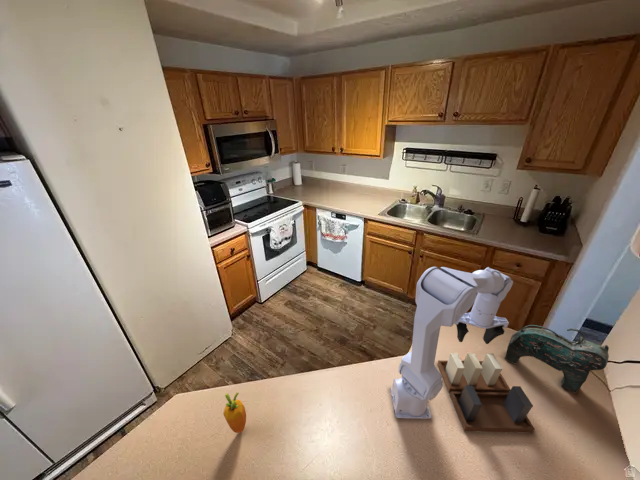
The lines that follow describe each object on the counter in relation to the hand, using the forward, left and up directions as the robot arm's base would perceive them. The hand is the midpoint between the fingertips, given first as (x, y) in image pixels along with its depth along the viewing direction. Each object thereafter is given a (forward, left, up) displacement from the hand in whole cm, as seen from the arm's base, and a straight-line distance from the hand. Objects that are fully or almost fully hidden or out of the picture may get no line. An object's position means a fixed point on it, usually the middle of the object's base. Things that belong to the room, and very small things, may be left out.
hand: (472, 340), depth 80 cm
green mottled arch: (+21, -4, -10) cm, 24 cm away
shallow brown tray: (-1, -6, -10) cm, 12 cm away
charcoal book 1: (-7, -16, -10) cm, 20 cm away
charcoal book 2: (+5, -16, -10) cm, 19 cm away
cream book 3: (+4, -6, -10) cm, 12 cm away
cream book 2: (-2, -6, -10) cm, 11 cm away
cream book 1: (-7, -6, -10) cm, 13 cm away
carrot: (-68, -22, -10) cm, 72 cm away
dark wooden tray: (-1, -16, -10) cm, 19 cm away
